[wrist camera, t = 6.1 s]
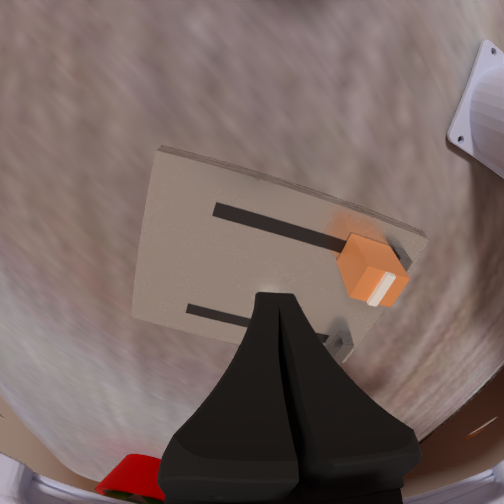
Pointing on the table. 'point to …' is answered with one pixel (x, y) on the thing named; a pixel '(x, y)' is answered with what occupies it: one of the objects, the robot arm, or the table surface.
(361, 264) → the fader orange
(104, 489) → the potted flower
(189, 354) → the table surface
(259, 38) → the table surface
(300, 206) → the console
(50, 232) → the table surface
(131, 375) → the table surface
